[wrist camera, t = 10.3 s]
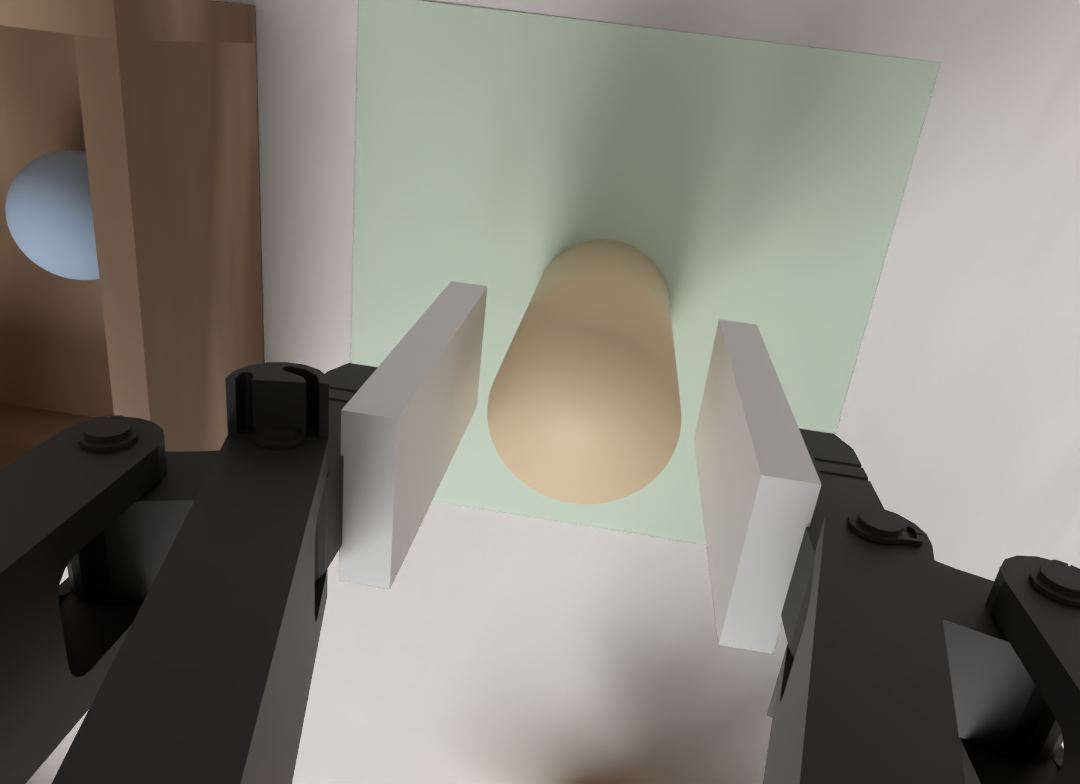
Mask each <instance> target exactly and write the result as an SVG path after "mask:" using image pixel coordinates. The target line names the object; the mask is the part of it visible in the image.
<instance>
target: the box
mask: <svg viewBox="0 0 1080 784" xmlns="http://www.w3.org/2000/svg"><path fill="white" fill-rule="evenodd" d="M68 150H75V151H84V152H86V158H87V167H88V177H89V186H90V195H91V205H92V214H93V223H94V233H95V242H96V251H97V261H98V270H99V279H97V280H76V279H69V278H65V277H62V276H59V275H56V274H53V273H51V272H49V271H46V270H45V269H43V268H42V267H40V266H38V265H37V264H35V263H34V262H33V261H31V260H30V259H29V258H28V257H27V256H26V255H25V254H24V253H23V252H22V251H21V249H20V248H19V247H18V245H17V244H16V242H15V240H14V239H13V237H12V235H11V232H10V230H9V227H8V224H7V220H6V212H5V205H6V198H7V193H8V190H9V187H10V185H11V183H12V181H13V180H14V178H15V177H16V175H17V174H18V173H19V172H20V171H21V170H22V169H23V168H24V167H25V166H26V165H27V164H28V163H30V162H31V161H33V160H35V159H37V158H38V157H41V156H43V155H45V154H49V153H53V152H57V151H68ZM261 363H264V347H263V307H262V268H261V228H260V189H259V149H258V110H257V70H256V31H255V6H253V5H245V4H236V3H228V2H220V1H212V0H0V470H1V469H3V468H4V467H6V466H7V465H9V464H10V463H12V462H13V461H15V460H17V459H18V458H20V457H21V456H23V455H24V454H26V453H27V452H29V451H30V450H32V449H34V448H35V447H37V446H38V445H40V444H41V443H43V442H44V441H46V440H47V439H49V438H51V437H52V436H54V435H55V434H57V433H58V432H60V431H62V430H64V429H66V428H68V427H70V426H72V425H74V424H77V423H81V422H85V421H89V420H92V419H93V418H96V417H101V416H107V417H110V415H122V416H124V417H134V418H141V419H144V420H148V421H152V422H154V423H156V424H157V425H158V426H160V427H161V428H162V429H163V432H164V438H165V450H166V452H181V451H216V450H220V449H221V447H222V445H223V443H224V441H225V439H226V437H227V435H228V428H227V406H226V384H225V378H226V377H227V376H228V375H230V374H231V373H232V372H233V371H235V370H238V369H240V368H243V367H246V366H249V365H255V364H261Z"/></svg>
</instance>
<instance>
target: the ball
mask: <svg viewBox="0 0 1080 784" xmlns="http://www.w3.org/2000/svg"><path fill="white" fill-rule="evenodd" d="M5 212H6V220H7V224H8V227H9V230H10V232H11V235H12V237H13V239H14V240H15V242H16V244H17V245H18V247H19V248H20V249H21V251H22V252H23V253H24V254H25V255H26V256H27V257H28V258H29V259H30V260H31V261H33V262H34V263H35V264H37V265H38V266H40V267H42V268H43V269H45V270H46V271H49V272H51V273H53V274H56V275H59V276H62V277H65V278H69V279H76V280H97V279H99V270H98V261H97V251H96V242H95V233H94V223H93V214H92V205H91V195H90V186H89V177H88V167H87V158H86V152H84V151H75V150H68V151H57V152H53V153H49V154H45V155H43V156H41V157H38V158H37V159H35V160H33V161H31V162H30V163H28V164H27V165H26V166H25V167H24V168H23V169H22V170H21V171H20V172H19V173H18V174H17V175H16V177H15V178H14V180H13V181H12V183H11V185H10V187H9V190H8V193H7V198H6V205H5Z"/></svg>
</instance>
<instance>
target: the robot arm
mask: <svg viewBox="0 0 1080 784" xmlns="http://www.w3.org/2000/svg"><path fill="white" fill-rule="evenodd" d="M486 298H487V286H482V285H475V284H468V283H461V282H454V281H451V282H450V283H449V284H448V285H447V287H446V288H445V289H444V290H443V291H442V293H441V294H440V295H439V296H438V297H437V298H436V300H435V301H434V302H433V303H432V304H431V305H430V307H429V308H428V309H427V310H426V311H425V312H424V314H423V315H422V316H421V317H420V318H419V320H418V321H417V322H416V323H415V324H414V325H413V327H412V328H411V329H410V330H409V331H408V332H407V334H406V335H405V336H404V337H403V338H402V339H401V341H400V342H399V343H398V344H397V345H396V347H395V348H394V349H393V350H392V351H391V352H390V354H389V355H388V356H387V357H386V358H385V359H384V361H383V362H382V363H381V364H380V365H379V366H378V367H373V366H366V365H359V364H353V363H348V364H345V365H343V366H341V367H338V368H336V369H333V370H331V371H328V372H327V373H326V374H324V373H322V372H321V371H320V370H318V369H315V368H312V367H309V366H306V365H302V364H295V363H287V362H275V363H261V364H255V365H249V366H246V367H243V368H240V369H238V370H235V371H233V372H232V373H231V374H230V375H228V376H227V377H226V378H225V384H226V406H227V428H228V435H227V437H226V439H225V441H224V443H223V445H222V447H221V449H220V450H216V451H181V452H166V450H165V438H164V432H163V429H162V428H161V427H160V426H158V425H157V424H156V423H154V422H152V421H148V420H144V419H141V418H134V417H124V416H122V415H110V417H107V416H101V417H96V418H93V419H92V420H89V421H85V422H81V423H77V424H74V425H72V426H70V427H68V428H66V429H64V430H62V431H60V432H58V433H57V434H55V435H54V436H52V437H51V438H49V439H47V440H46V441H44V442H43V443H41V444H40V445H38V446H37V447H35V448H34V449H32V450H30V451H29V452H27V453H26V454H24V455H23V456H21V457H20V458H18V459H17V460H15V461H13V462H12V463H10V464H9V465H7V466H6V467H4V468H3V469H1V470H0V784H26V782H27V781H28V780H29V779H30V778H31V776H32V775H33V774H34V773H35V772H36V771H37V769H38V768H39V767H40V766H41V765H42V764H43V762H44V761H45V760H46V759H47V758H48V756H49V755H50V754H51V753H52V752H53V751H54V749H55V748H56V747H57V746H58V745H59V744H60V742H61V741H62V740H63V739H64V738H65V736H66V735H67V734H68V733H69V732H70V731H71V729H72V728H73V727H74V726H75V725H76V723H77V722H78V721H79V720H80V719H81V718H82V716H83V715H84V714H85V713H86V712H87V711H88V709H89V708H90V709H89V711H88V713H87V715H86V717H85V719H84V721H83V723H82V725H81V727H80V729H79V730H78V732H77V734H76V736H75V738H74V740H73V742H72V744H71V746H70V748H69V750H68V752H67V754H66V756H65V758H64V760H63V762H62V764H61V766H60V768H59V770H58V772H57V774H56V776H55V778H54V780H53V782H52V784H292V780H293V775H294V769H295V764H296V759H297V753H298V748H299V743H300V737H301V732H302V727H303V721H304V716H305V711H306V705H307V700H308V695H309V689H310V684H311V679H312V673H313V668H314V663H315V657H316V652H317V647H318V641H319V636H320V631H321V626H322V620H323V615H324V610H325V604H326V599H327V568H328V567H329V565H330V563H331V562H332V560H333V558H334V557H335V555H336V554H337V552H338V550H339V581H343V582H349V583H354V584H360V585H366V586H372V587H378V588H384V589H390V588H391V586H392V584H393V582H394V579H395V577H396V575H397V573H398V571H399V569H400V567H401V565H402V563H403V561H404V559H405V556H406V554H407V552H408V550H409V548H410V546H411V544H412V542H413V540H414V538H415V536H416V533H417V531H418V529H419V527H420V525H421V523H422V521H423V519H424V517H425V515H426V512H427V510H428V508H429V506H430V504H431V502H432V500H433V498H434V496H435V494H436V492H437V489H438V487H439V485H440V483H441V481H442V479H443V477H444V475H445V473H446V471H447V468H448V466H449V464H450V462H451V460H452V458H453V456H454V454H455V452H456V450H457V448H458V445H459V443H460V441H461V439H462V437H463V435H464V433H465V431H466V429H467V427H468V424H469V422H470V420H471V418H472V416H473V414H474V412H475V410H476V408H477V399H478V388H479V377H480V365H481V354H482V343H483V332H484V320H485V309H486ZM694 447H695V455H696V463H697V472H698V480H699V488H700V496H701V504H702V513H703V521H704V529H705V537H706V545H707V554H708V562H709V570H710V578H711V587H712V595H713V603H714V611H715V619H716V628H717V636H718V644H719V645H721V646H727V647H733V648H739V649H745V650H751V651H757V652H763V653H768V654H773V653H774V649H775V646H776V642H777V639H778V635H779V632H780V628H781V625H782V621H783V625H784V629H785V633H786V638H787V642H788V645H787V648H786V652H785V655H784V659H783V662H782V665H781V669H780V672H779V676H778V679H777V683H776V686H775V689H774V693H773V696H772V700H771V703H770V706H769V710H768V713H767V716H770V717H773V720H772V727H771V734H770V741H769V747H768V754H767V761H766V768H765V775H764V781H763V784H1080V569H1079V568H1077V567H1074V566H1072V565H1071V566H1068V564H1067V563H1064V562H1061V561H1058V560H1048V559H1044V558H1040V557H1034V556H1015V557H1011V558H1008V559H1005V560H1004V562H1003V564H1002V565H1001V567H1000V569H999V572H998V574H997V577H996V579H995V581H991V580H988V579H985V578H982V577H979V576H976V575H973V574H970V573H967V572H964V571H961V570H958V569H955V568H952V567H950V566H947V565H944V564H942V563H939V562H937V561H935V560H934V555H933V548H932V544H931V542H930V540H929V538H928V536H927V534H926V533H924V532H923V531H922V530H921V529H920V528H919V527H918V526H916V525H915V524H914V523H912V522H911V521H909V520H907V519H905V518H903V517H902V516H900V515H898V514H896V513H893V512H890V511H887V510H885V509H884V508H883V506H882V504H881V502H880V500H879V498H878V496H877V494H876V492H875V490H874V488H873V486H872V484H871V483H870V481H868V477H867V475H866V473H865V471H864V469H863V468H861V463H860V461H859V459H858V458H857V456H856V454H855V452H854V450H853V449H852V448H851V447H850V446H848V445H847V444H846V443H845V442H843V441H842V440H841V439H840V438H838V437H837V436H836V435H835V434H833V433H826V432H820V431H813V430H806V429H800V428H798V425H797V423H796V420H795V418H794V415H793V413H792V410H791V408H790V405H789V403H788V400H787V398H786V396H785V393H784V391H783V388H782V386H781V383H780V381H779V378H778V376H777V373H776V371H775V368H774V366H773V363H772V361H771V358H770V356H769V354H768V351H767V349H766V346H765V344H764V341H763V339H762V336H761V334H760V331H759V329H758V326H757V325H756V324H749V323H742V322H735V321H728V320H721V319H719V321H718V326H717V331H716V335H715V340H714V345H713V350H712V355H711V359H710V364H709V369H708V374H707V379H706V383H705V388H704V393H703V398H702V403H701V407H700V412H699V417H698V422H697V427H696V431H695V436H694ZM66 566H67V567H68V574H69V577H68V578H67V579H66V580H65V581H64V582H63V583H62V584H60V585H59V583H60V581H61V578H62V576H63V573H64V570H65V568H66ZM1062 741H1063V743H1064V749H1063V748H1062V746H1061V744H1062Z"/></svg>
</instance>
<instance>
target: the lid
mask: <svg viewBox="0 0 1080 784" xmlns="http://www.w3.org/2000/svg"><path fill="white" fill-rule="evenodd" d="M939 66H940V62H932V61H923V60H915V59H906V58H898V57H890V56H881V55H873V54H864V53H856V52H848V51H839V50H831V49H822V48H814V47H806V46H797V45H789V44H780V43H772V42H764V41H755V40H747V39H738V38H730V37H722V36H713V35H705V34H696V33H688V32H680V31H671V30H663V29H655V28H646V27H638V26H629V25H621V24H613V23H604V22H596V21H587V20H579V19H571V18H562V17H554V16H545V15H537V14H529V13H520V12H512V11H503V10H495V9H487V8H478V7H470V6H461V5H453V4H445V3H436V2H428V1H419V0H358V42H357V89H356V137H355V185H354V232H353V280H352V327H351V363H353V364H359V365H366V366H373V367H378V366H379V365H380V364H381V363H382V362H383V361H384V359H385V358H386V357H387V356H388V355H389V354H390V352H391V351H392V350H393V349H394V348H395V347H396V345H397V344H398V343H399V342H400V341H401V339H402V338H403V337H404V336H405V335H406V334H407V332H408V331H409V330H410V329H411V328H412V327H413V325H414V324H415V323H416V322H417V321H418V320H419V318H420V317H421V316H422V315H423V314H424V312H425V311H426V310H427V309H428V308H429V307H430V305H431V304H432V303H433V302H434V301H435V300H436V298H437V297H438V296H439V295H440V294H441V293H442V291H443V290H444V289H445V288H446V287H447V285H448V284H449V283H450V282H451V281H454V282H461V283H468V284H475V285H482V286H487V298H486V309H485V320H484V332H483V343H482V354H481V365H480V377H479V388H478V399H477V408H476V410H475V412H474V414H473V416H472V418H471V420H470V422H469V424H468V427H467V429H466V431H465V433H464V435H463V437H462V439H461V441H460V443H459V445H458V448H457V450H456V452H455V454H454V456H453V458H452V460H451V462H450V464H449V466H448V468H447V471H446V473H445V475H444V477H443V479H442V481H441V483H440V485H439V487H438V489H437V492H436V494H435V496H434V498H433V500H432V502H437V503H443V504H450V505H456V506H462V507H468V508H475V509H481V510H487V511H493V512H500V513H506V514H512V515H519V516H525V517H531V518H537V519H544V520H550V521H556V522H563V523H569V524H575V525H581V526H588V527H594V528H600V529H606V530H613V531H619V532H625V533H632V534H638V535H644V536H650V537H657V538H663V539H669V540H675V541H682V542H688V543H694V544H701V545H706V537H705V529H704V521H703V513H702V504H701V496H700V488H699V480H698V472H697V463H696V455H695V447H694V436H695V431H696V427H697V422H698V417H699V412H700V407H701V403H702V398H703V393H704V388H705V383H706V379H707V374H708V369H709V364H710V359H711V355H712V350H713V345H714V340H715V335H716V331H717V326H718V321H719V319H721V320H728V321H735V322H742V323H749V324H756V325H757V326H758V329H759V331H760V334H761V336H762V339H763V341H764V344H765V346H766V349H767V351H768V354H769V356H770V358H771V361H772V363H773V366H774V368H775V371H776V373H777V376H778V378H779V381H780V383H781V386H782V388H783V391H784V393H785V396H786V398H787V400H788V403H789V405H790V408H791V410H792V413H793V415H794V418H795V420H796V423H797V425H798V428H800V429H806V430H813V431H820V432H826V433H833V434H835V433H836V429H837V426H838V422H839V419H840V415H841V412H842V408H843V405H844V401H845V398H846V394H847V391H848V387H849V384H850V380H851V376H852V373H853V369H854V366H855V362H856V359H857V355H858V352H859V348H860V345H861V341H862V338H863V334H864V331H865V327H866V324H867V320H868V317H869V313H870V309H871V306H872V302H873V299H874V295H875V292H876V288H877V285H878V281H879V278H880V274H881V271H882V267H883V264H884V260H885V257H886V253H887V249H888V246H889V242H890V239H891V235H892V232H893V228H894V225H895V221H896V218H897V214H898V211H899V207H900V204H901V200H902V197H903V193H904V189H905V186H906V182H907V179H908V175H909V172H910V168H911V165H912V161H913V158H914V154H915V151H916V147H917V144H918V140H919V137H920V133H921V130H922V126H923V122H924V119H925V115H926V112H927V108H928V105H929V101H930V98H931V94H932V91H933V87H934V84H935V80H936V77H937V73H938V70H939Z"/></svg>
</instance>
